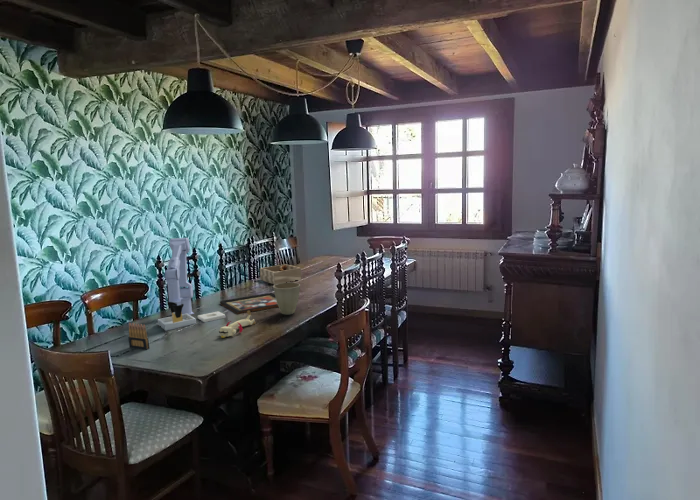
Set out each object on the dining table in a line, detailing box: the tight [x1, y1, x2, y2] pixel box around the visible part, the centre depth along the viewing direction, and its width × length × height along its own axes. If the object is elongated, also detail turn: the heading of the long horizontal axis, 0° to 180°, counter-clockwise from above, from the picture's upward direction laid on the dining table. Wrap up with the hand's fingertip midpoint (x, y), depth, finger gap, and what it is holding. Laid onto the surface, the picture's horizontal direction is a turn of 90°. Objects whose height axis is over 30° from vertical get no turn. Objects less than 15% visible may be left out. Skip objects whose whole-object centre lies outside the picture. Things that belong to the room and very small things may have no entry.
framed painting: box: [219, 292, 279, 315], centre depth 292 cm, size 38×35×3 cm
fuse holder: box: [197, 310, 226, 323], centre depth 265 cm, size 10×12×2 cm
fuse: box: [171, 312, 183, 323], centre depth 257 cm, size 3×4×6 cm, turn 126°
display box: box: [259, 263, 302, 286], centre depth 359 cm, size 23×22×9 cm
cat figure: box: [218, 311, 257, 339], centre depth 241 cm, size 10×9×25 cm
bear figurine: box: [279, 264, 287, 271], centre depth 356 cm, size 14×15×12 cm
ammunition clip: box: [128, 321, 150, 351], centre depth 221 cm, size 11×2×12 cm, turn 67°
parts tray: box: [157, 313, 197, 332], centre depth 257 cm, size 14×16×3 cm
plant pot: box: [272, 282, 301, 315], centre depth 270 cm, size 15×15×16 cm
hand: (176, 315), depth 256 cm, fingers open, 7 cm apart
